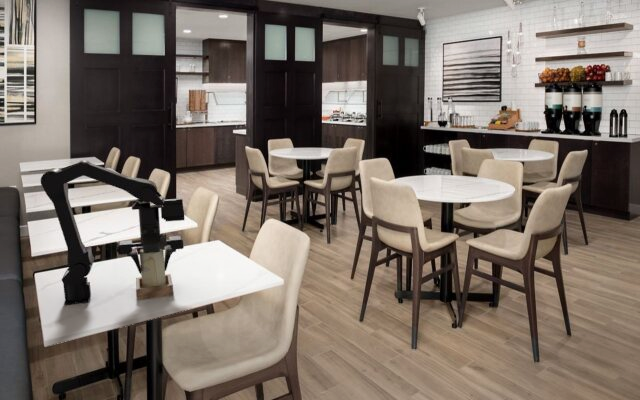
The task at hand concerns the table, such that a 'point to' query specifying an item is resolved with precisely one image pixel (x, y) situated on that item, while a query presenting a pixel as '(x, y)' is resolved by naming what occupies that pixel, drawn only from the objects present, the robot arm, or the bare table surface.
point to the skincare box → (152, 268)
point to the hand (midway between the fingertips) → (152, 271)
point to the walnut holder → (154, 289)
